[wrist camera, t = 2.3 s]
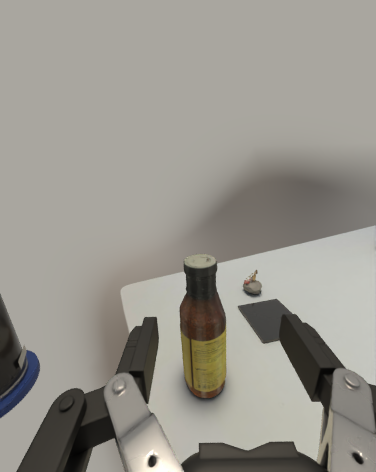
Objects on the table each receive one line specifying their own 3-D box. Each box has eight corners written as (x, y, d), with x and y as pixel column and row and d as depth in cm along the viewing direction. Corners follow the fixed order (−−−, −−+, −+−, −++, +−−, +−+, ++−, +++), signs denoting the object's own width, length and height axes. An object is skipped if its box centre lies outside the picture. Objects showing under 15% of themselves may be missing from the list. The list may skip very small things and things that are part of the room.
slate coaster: (263, 343, 35) (263, 341, 35) (237, 307, 45) (238, 305, 44) (310, 332, 37) (310, 330, 37) (276, 300, 47) (276, 298, 47)
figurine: (263, 297, 48) (266, 275, 46) (245, 297, 48) (247, 275, 46) (257, 285, 53) (259, 265, 51) (240, 285, 53) (242, 265, 51)
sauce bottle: (232, 374, 30) (240, 257, 24) (211, 412, 26) (214, 280, 19) (197, 352, 34) (196, 246, 28) (174, 381, 29) (165, 263, 23)
